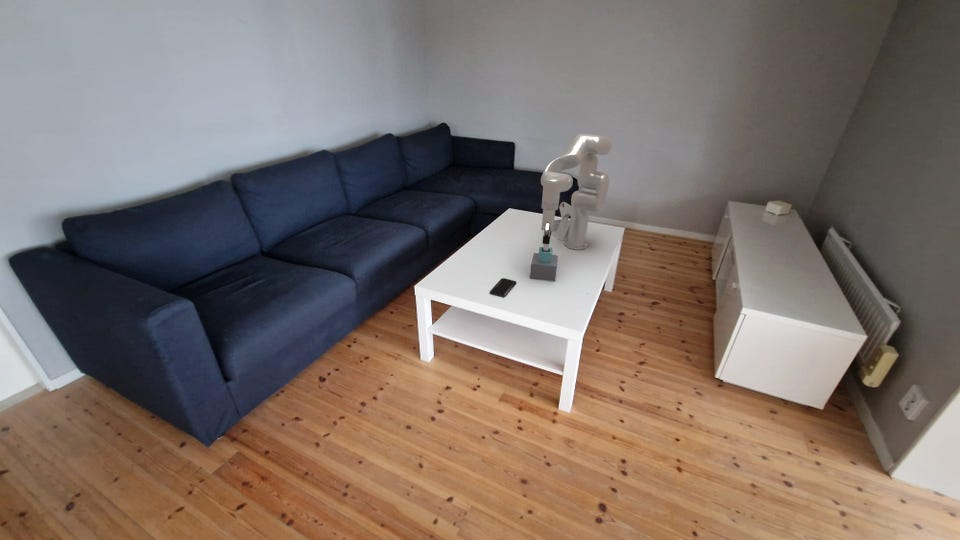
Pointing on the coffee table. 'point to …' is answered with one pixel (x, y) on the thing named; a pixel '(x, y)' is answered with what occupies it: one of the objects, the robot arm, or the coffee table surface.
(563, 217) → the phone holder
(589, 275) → the coffee table surface
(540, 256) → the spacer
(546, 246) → the shaft
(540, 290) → the coffee table surface
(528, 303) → the coffee table surface
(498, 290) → the phone
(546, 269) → the bearing block
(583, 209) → the robot arm
